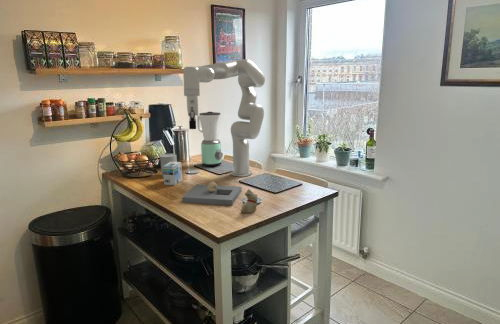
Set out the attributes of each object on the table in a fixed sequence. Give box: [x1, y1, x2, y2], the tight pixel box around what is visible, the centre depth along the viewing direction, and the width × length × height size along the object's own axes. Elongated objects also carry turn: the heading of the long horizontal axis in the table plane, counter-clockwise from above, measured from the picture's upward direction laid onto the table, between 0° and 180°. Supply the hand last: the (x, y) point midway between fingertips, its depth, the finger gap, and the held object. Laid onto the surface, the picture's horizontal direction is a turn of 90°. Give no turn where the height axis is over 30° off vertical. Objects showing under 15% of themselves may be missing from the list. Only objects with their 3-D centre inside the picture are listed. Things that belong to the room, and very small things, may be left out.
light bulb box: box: [163, 161, 183, 186], centre depth 192 cm, size 11×7×11 cm, turn 168°
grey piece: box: [159, 153, 178, 178], centre depth 206 cm, size 10×10×12 cm
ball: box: [206, 181, 218, 192], centre depth 169 cm, size 5×5×5 cm
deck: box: [181, 184, 243, 206], centre depth 170 cm, size 20×24×2 cm
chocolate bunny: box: [240, 188, 259, 214], centre depth 151 cm, size 6×8×10 cm
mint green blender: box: [196, 111, 224, 167], centre depth 227 cm, size 19×13×35 cm
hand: (192, 127), depth 173 cm, fingers open, 9 cm apart
